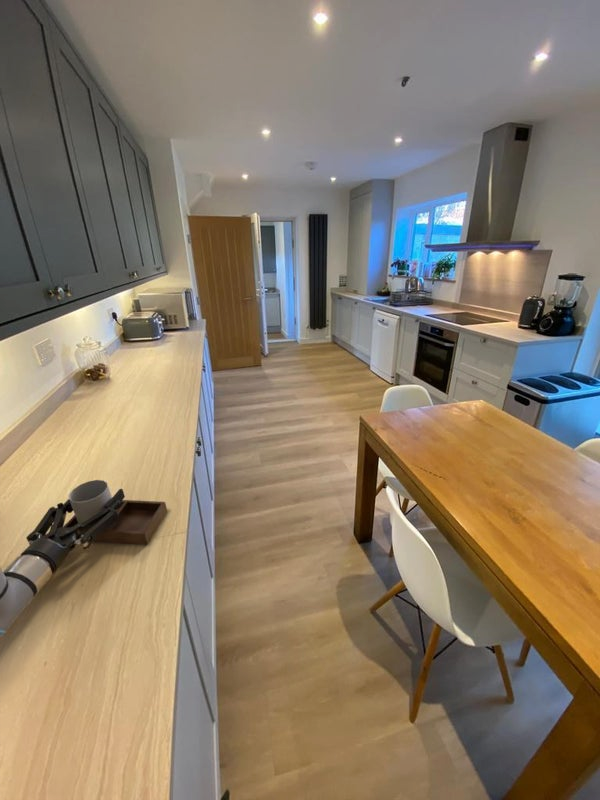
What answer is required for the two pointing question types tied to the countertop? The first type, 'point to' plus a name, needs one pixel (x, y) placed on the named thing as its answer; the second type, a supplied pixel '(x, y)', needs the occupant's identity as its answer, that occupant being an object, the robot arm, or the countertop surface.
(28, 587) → the robot arm
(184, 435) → the countertop surface
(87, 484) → the cup
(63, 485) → the countertop surface
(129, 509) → the tray
